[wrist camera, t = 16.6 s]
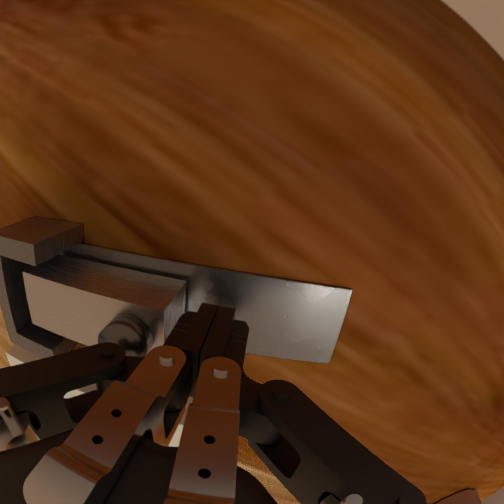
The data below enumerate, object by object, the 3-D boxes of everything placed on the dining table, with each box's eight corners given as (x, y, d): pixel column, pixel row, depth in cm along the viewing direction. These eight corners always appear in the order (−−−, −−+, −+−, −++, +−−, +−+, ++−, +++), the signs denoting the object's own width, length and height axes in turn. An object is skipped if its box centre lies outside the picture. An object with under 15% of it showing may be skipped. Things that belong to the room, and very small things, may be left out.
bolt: (186, 280, 13) (152, 327, 9) (184, 333, 14) (156, 387, 10) (57, 253, 14) (6, 280, 10) (62, 300, 15) (19, 334, 11)
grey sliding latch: (357, 267, 13) (383, 307, 9) (323, 376, 15) (331, 429, 11) (36, 216, 14) (-12, 233, 10) (47, 312, 16) (11, 341, 12)
